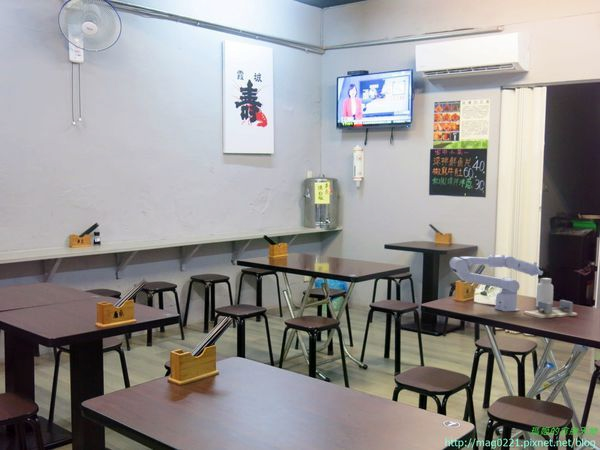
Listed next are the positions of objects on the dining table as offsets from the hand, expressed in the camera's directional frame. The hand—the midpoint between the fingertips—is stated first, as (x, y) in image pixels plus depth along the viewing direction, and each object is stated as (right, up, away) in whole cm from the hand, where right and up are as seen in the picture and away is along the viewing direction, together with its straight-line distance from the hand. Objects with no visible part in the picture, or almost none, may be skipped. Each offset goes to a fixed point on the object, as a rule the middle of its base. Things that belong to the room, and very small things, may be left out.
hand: (549, 274), depth 310 cm
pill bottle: (+1, -17, +8) cm, 19 cm away
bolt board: (-3, -18, -10) cm, 21 cm away
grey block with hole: (-7, -17, -11) cm, 21 cm away
